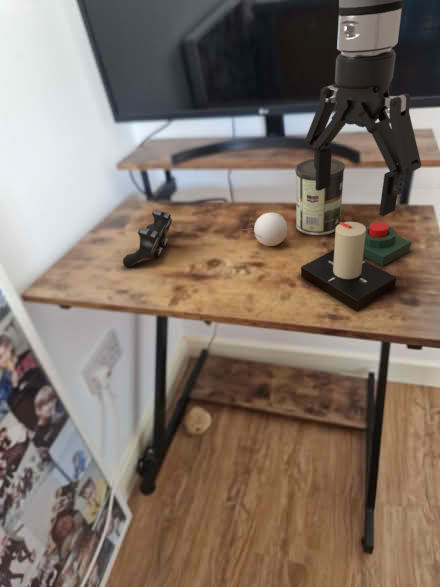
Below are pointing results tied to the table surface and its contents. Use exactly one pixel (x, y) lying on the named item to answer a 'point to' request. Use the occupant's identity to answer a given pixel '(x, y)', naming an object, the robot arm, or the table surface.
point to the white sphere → (270, 229)
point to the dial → (349, 249)
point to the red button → (378, 229)
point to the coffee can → (318, 199)
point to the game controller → (150, 238)
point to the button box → (385, 247)
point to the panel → (348, 282)
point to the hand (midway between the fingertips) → (352, 199)
